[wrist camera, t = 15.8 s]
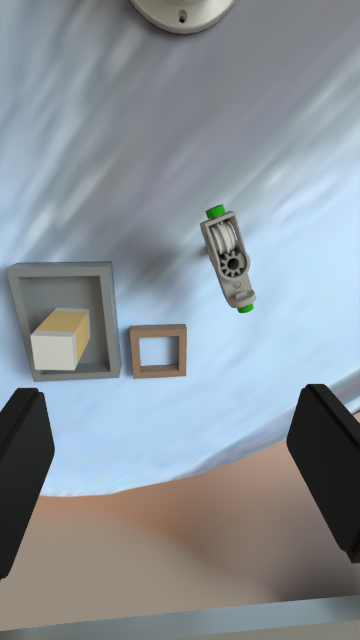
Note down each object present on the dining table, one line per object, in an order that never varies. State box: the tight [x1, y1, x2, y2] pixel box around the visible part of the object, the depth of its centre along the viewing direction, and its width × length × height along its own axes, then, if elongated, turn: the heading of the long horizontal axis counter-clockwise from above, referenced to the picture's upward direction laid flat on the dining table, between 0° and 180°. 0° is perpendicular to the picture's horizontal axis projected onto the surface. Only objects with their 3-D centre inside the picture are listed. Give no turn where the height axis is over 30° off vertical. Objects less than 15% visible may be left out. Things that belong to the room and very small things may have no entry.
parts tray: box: [6, 262, 121, 382], centre depth 34 cm, size 15×11×3 cm
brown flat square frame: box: [130, 324, 187, 379], centre depth 38 cm, size 8×8×2 cm
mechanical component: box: [200, 204, 256, 313], centre depth 29 cm, size 3×10×10 cm, turn 21°
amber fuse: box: [30, 308, 90, 370], centre depth 32 cm, size 4×4×8 cm
